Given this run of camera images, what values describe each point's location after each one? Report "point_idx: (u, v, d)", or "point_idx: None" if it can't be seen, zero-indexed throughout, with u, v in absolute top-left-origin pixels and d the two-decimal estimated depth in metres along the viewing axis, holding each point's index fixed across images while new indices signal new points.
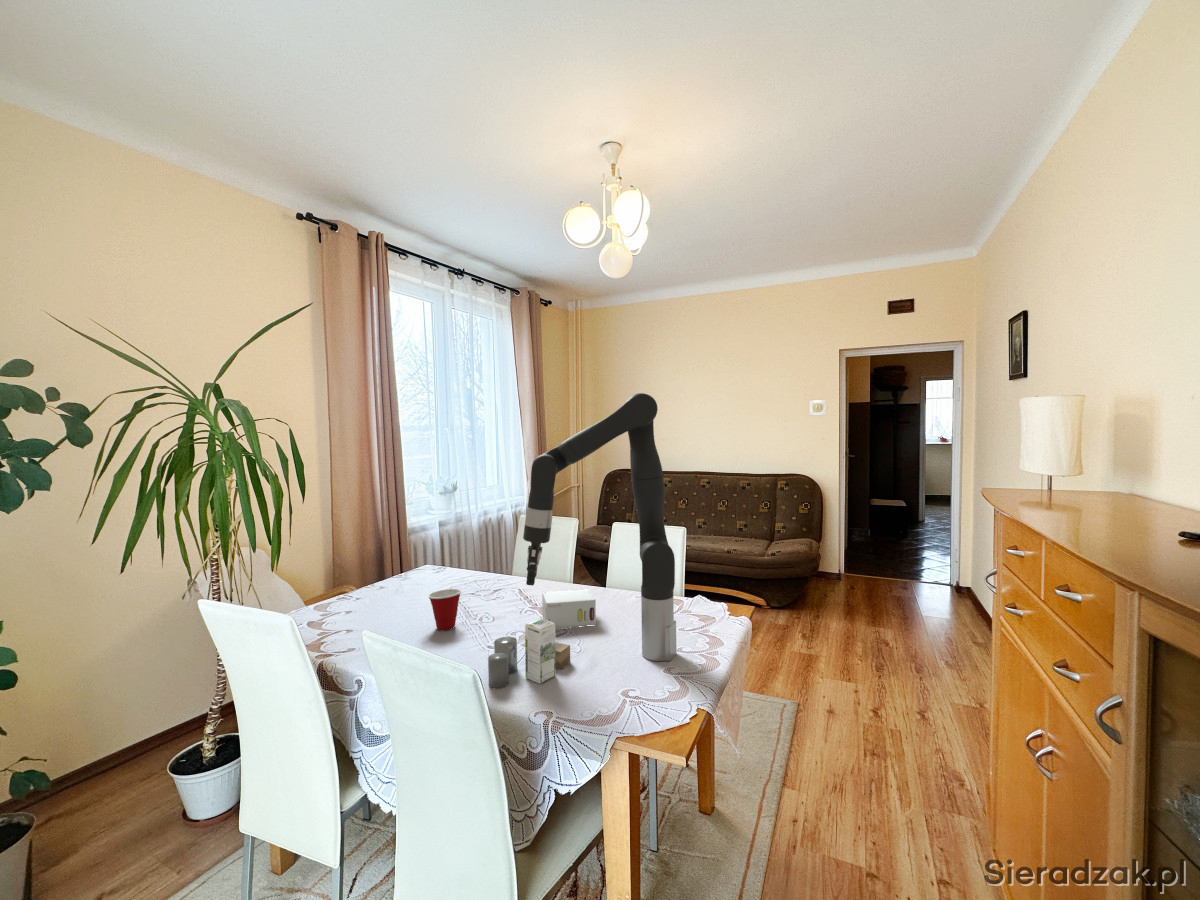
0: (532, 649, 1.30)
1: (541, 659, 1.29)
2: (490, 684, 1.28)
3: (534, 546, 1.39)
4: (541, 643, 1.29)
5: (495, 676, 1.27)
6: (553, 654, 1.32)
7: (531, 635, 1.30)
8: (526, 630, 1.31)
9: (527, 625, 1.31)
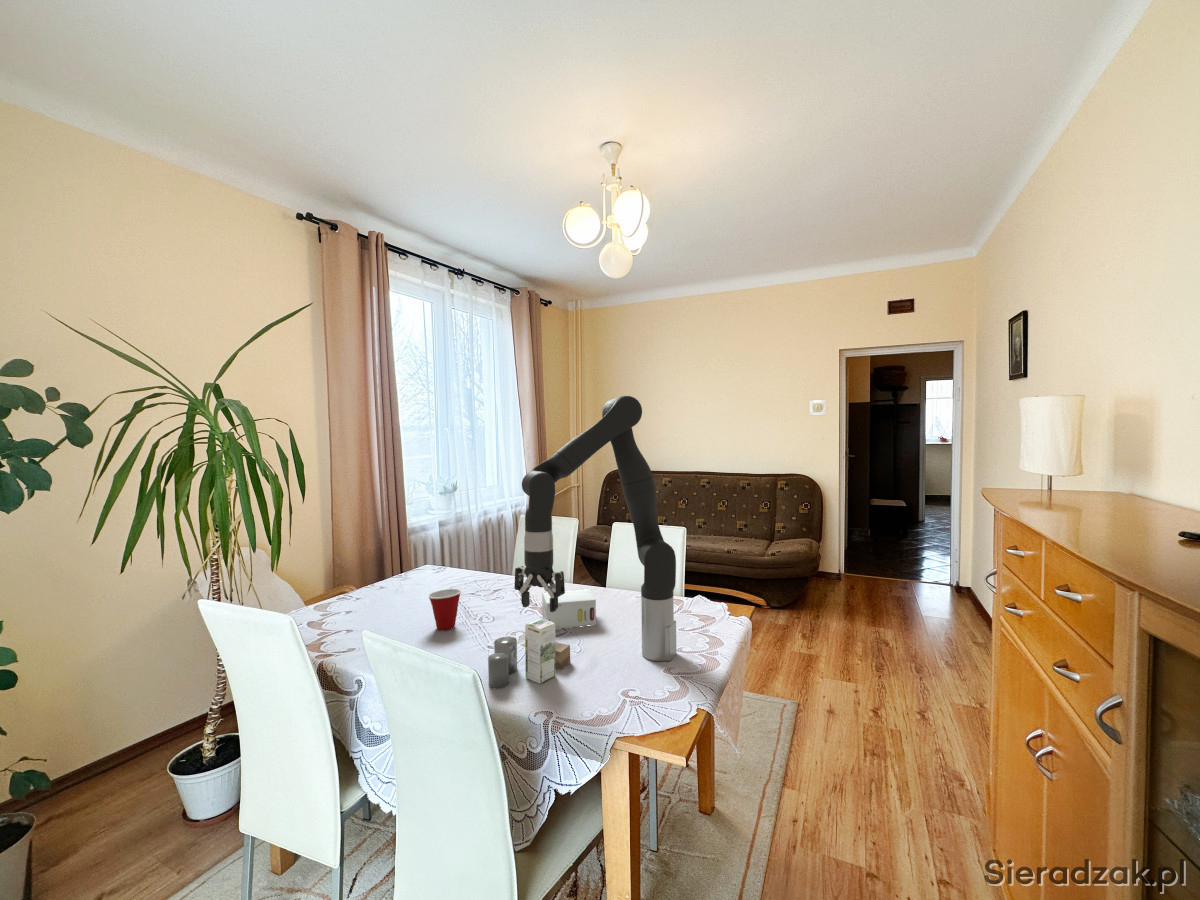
0: (532, 649, 1.30)
1: (541, 659, 1.29)
2: (490, 684, 1.28)
3: (550, 570, 1.30)
4: (541, 643, 1.29)
5: (495, 676, 1.27)
6: (553, 654, 1.32)
7: (531, 635, 1.30)
8: (526, 630, 1.31)
9: (527, 625, 1.31)
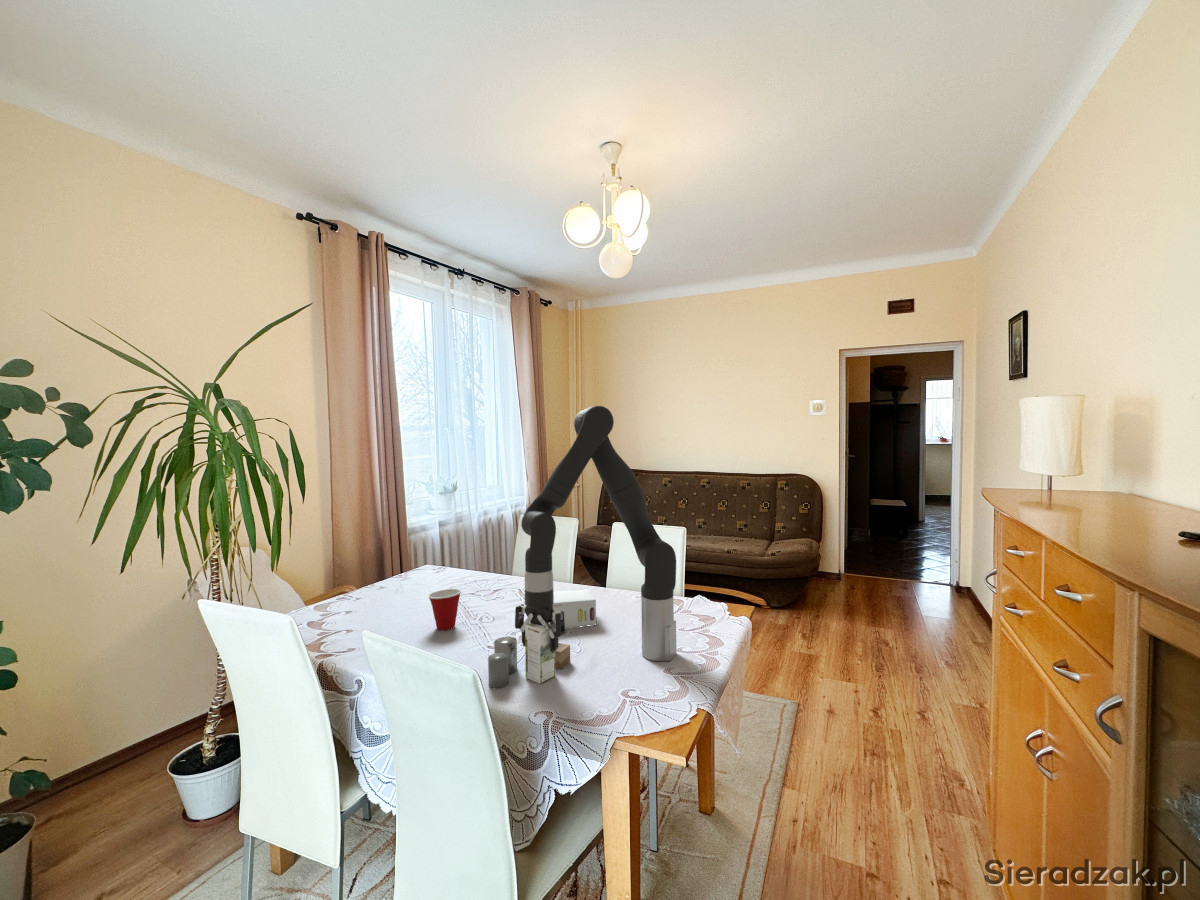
0: (532, 649, 1.30)
1: (541, 659, 1.29)
2: (490, 684, 1.28)
3: (551, 610, 1.30)
4: (541, 643, 1.29)
5: (495, 676, 1.27)
6: (553, 654, 1.32)
7: (531, 635, 1.30)
8: (526, 630, 1.31)
9: (527, 625, 1.31)
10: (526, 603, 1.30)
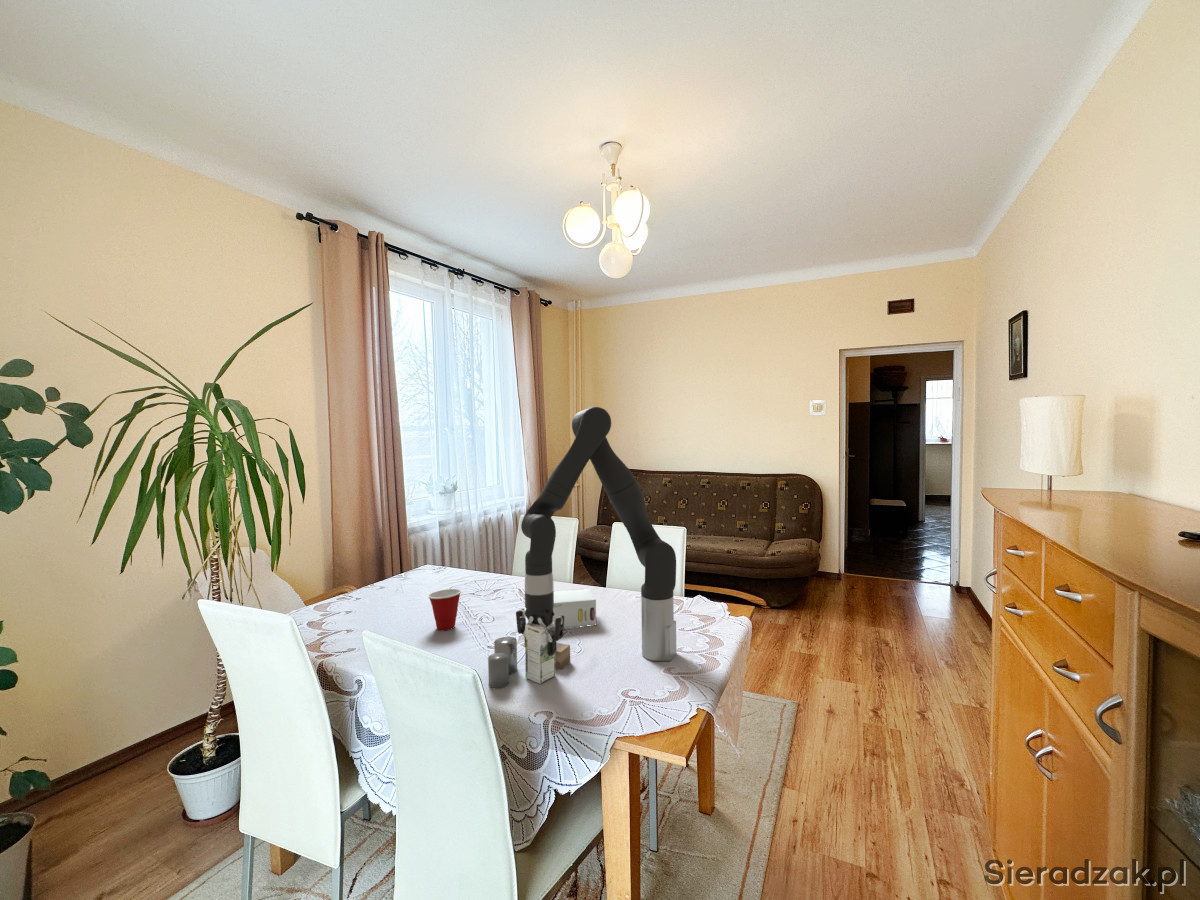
0: (532, 649, 1.30)
1: (541, 659, 1.29)
2: (490, 684, 1.28)
3: (551, 612, 1.30)
4: (541, 643, 1.29)
5: (495, 676, 1.27)
6: None
7: (531, 635, 1.30)
8: (526, 630, 1.31)
9: (527, 625, 1.31)
10: (526, 606, 1.30)
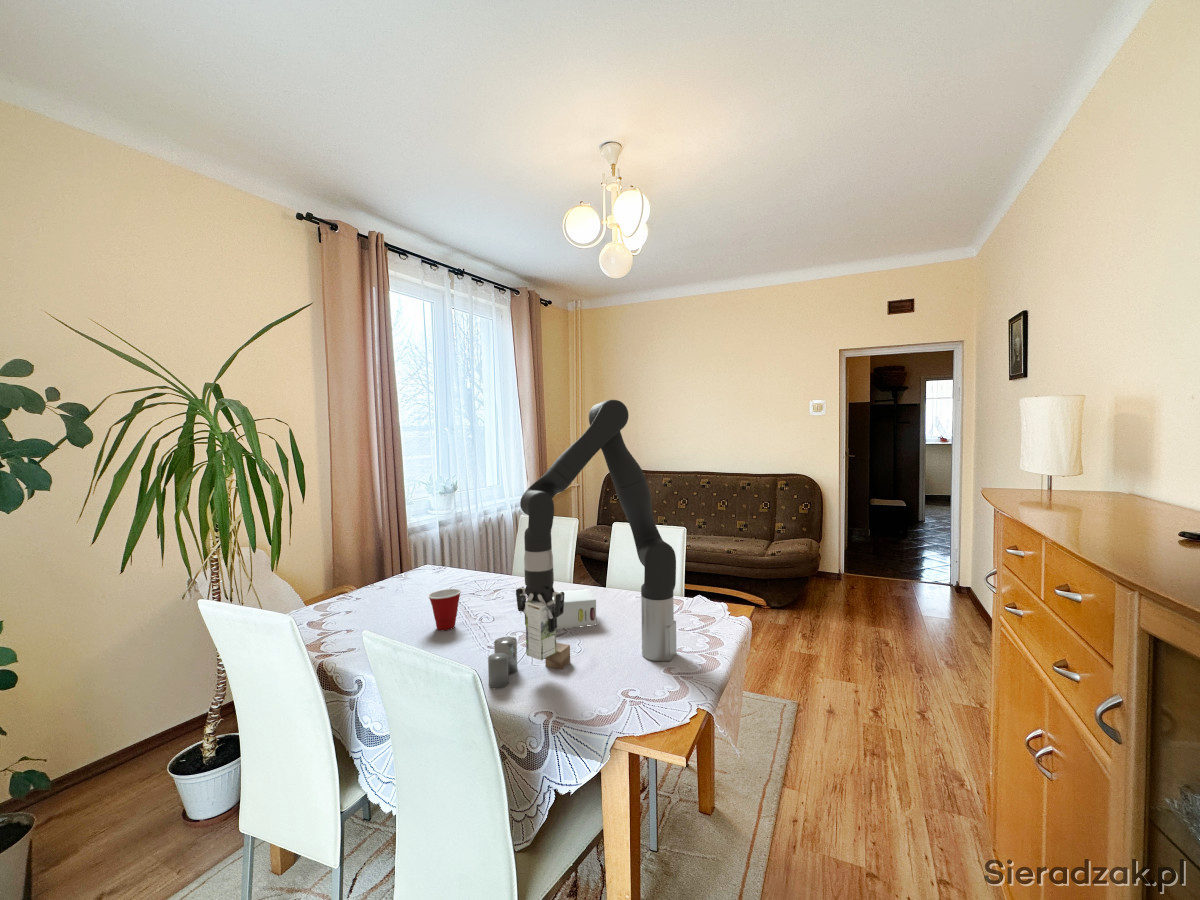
0: (533, 626, 1.30)
1: (542, 635, 1.29)
2: (490, 684, 1.28)
3: (551, 589, 1.30)
4: (541, 619, 1.28)
5: (495, 676, 1.27)
6: (554, 631, 1.32)
7: (531, 612, 1.30)
8: (526, 607, 1.31)
9: (527, 602, 1.31)
10: (526, 583, 1.30)
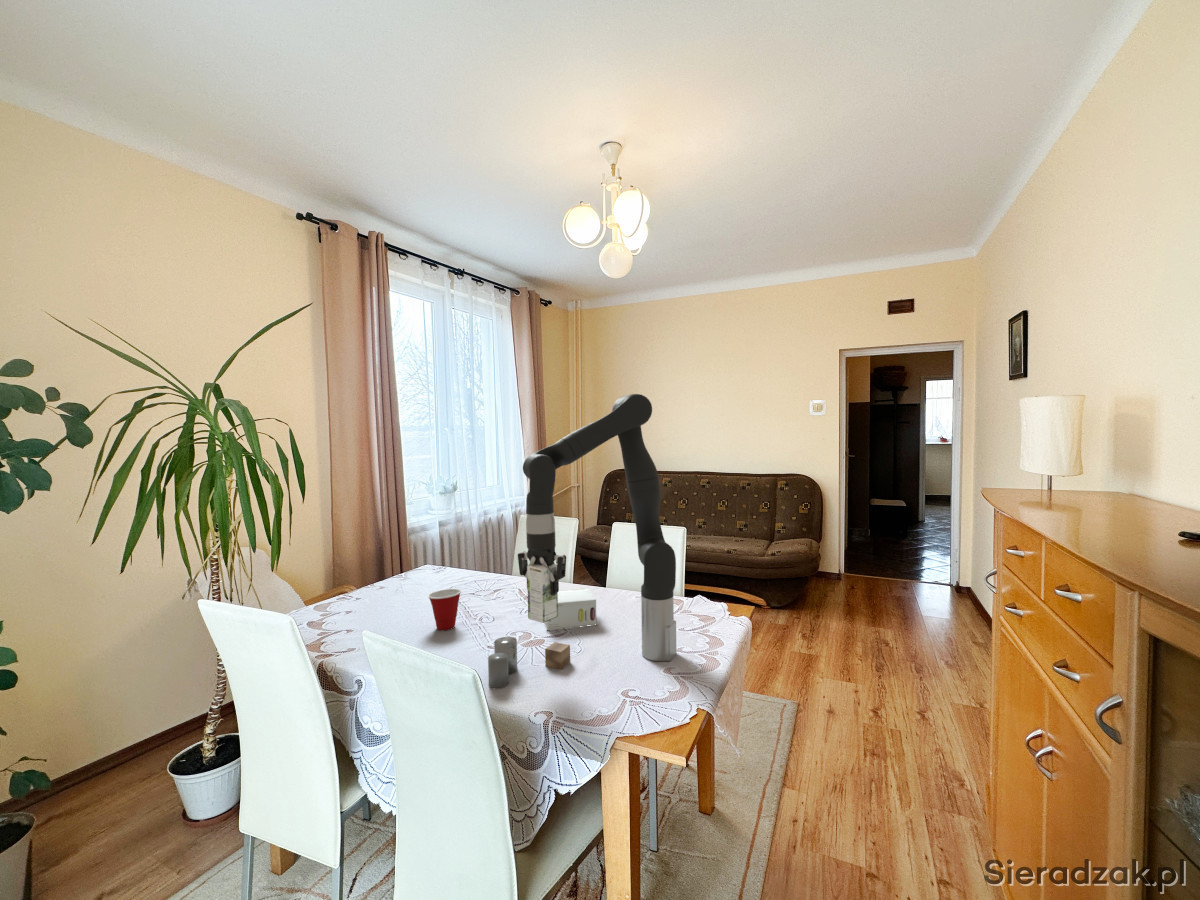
0: (535, 588, 1.30)
1: (544, 598, 1.29)
2: (490, 684, 1.28)
3: (553, 552, 1.31)
4: (543, 582, 1.29)
5: (495, 676, 1.27)
6: None
7: (533, 575, 1.30)
8: (528, 571, 1.32)
9: (529, 566, 1.32)
10: (528, 546, 1.30)
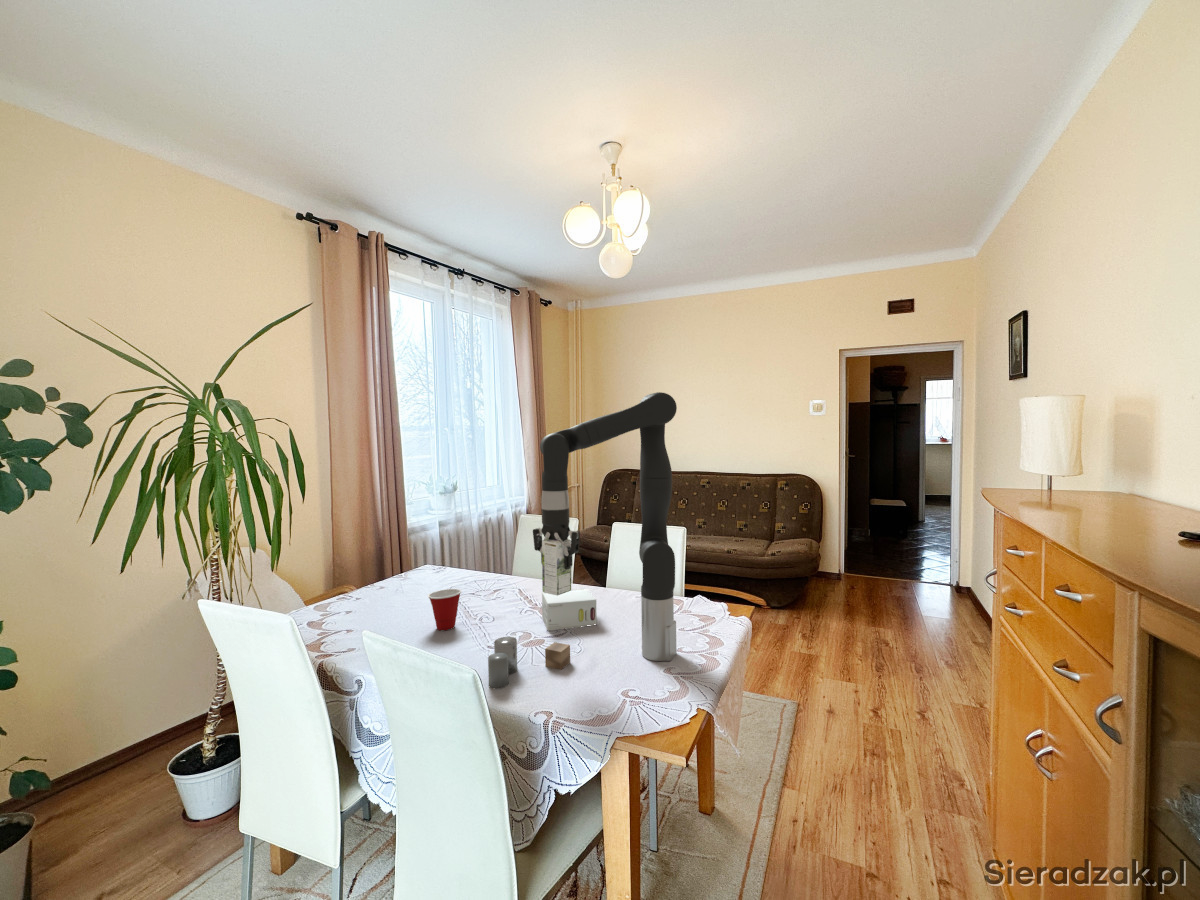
0: (549, 563, 1.35)
1: (558, 572, 1.34)
2: (490, 684, 1.28)
3: (567, 528, 1.35)
4: (557, 556, 1.34)
5: (495, 676, 1.27)
6: (569, 569, 1.37)
7: (548, 550, 1.35)
8: (543, 545, 1.37)
9: (544, 541, 1.37)
10: (543, 521, 1.35)
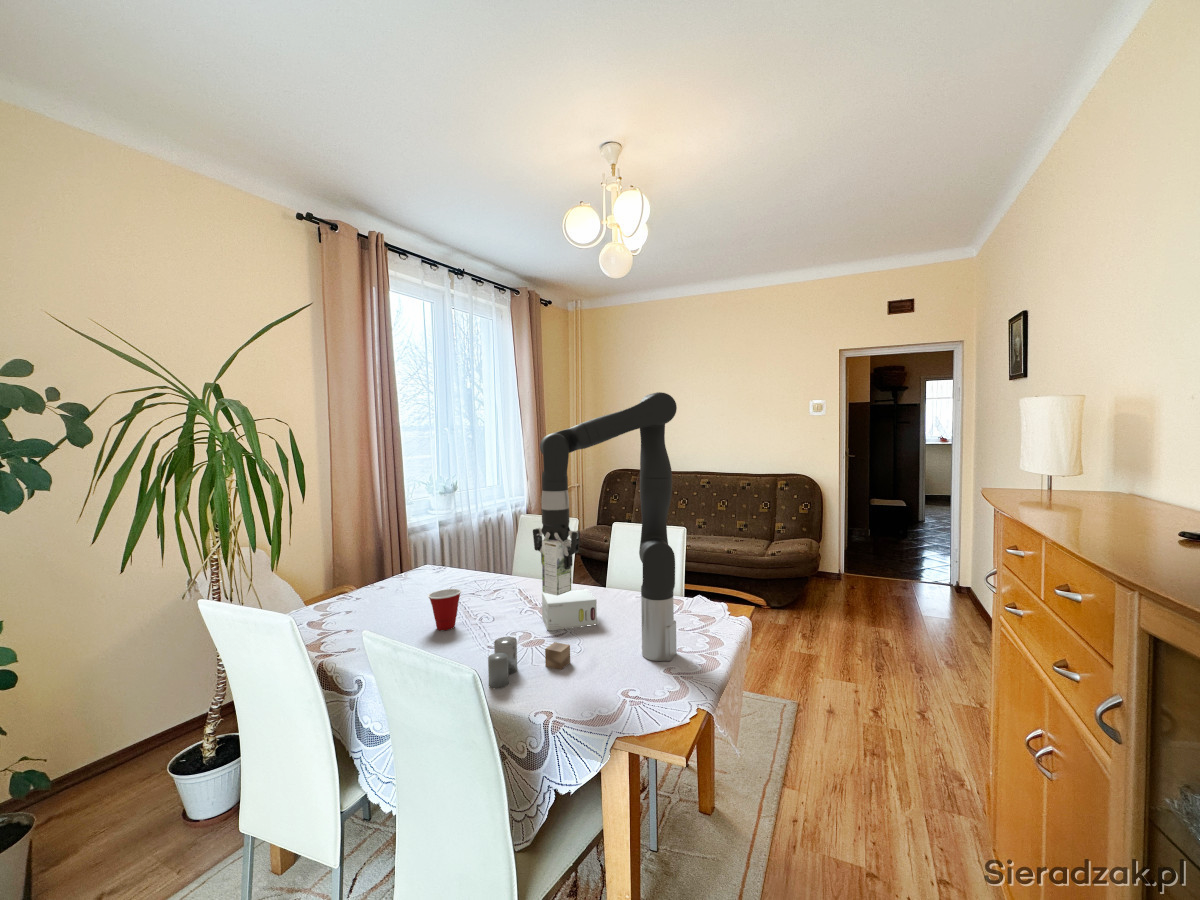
0: (549, 563, 1.35)
1: (558, 572, 1.34)
2: (490, 684, 1.28)
3: (567, 528, 1.35)
4: (557, 556, 1.34)
5: (495, 676, 1.27)
6: (569, 569, 1.37)
7: (548, 550, 1.35)
8: (543, 545, 1.37)
9: (544, 541, 1.37)
10: (543, 521, 1.35)
